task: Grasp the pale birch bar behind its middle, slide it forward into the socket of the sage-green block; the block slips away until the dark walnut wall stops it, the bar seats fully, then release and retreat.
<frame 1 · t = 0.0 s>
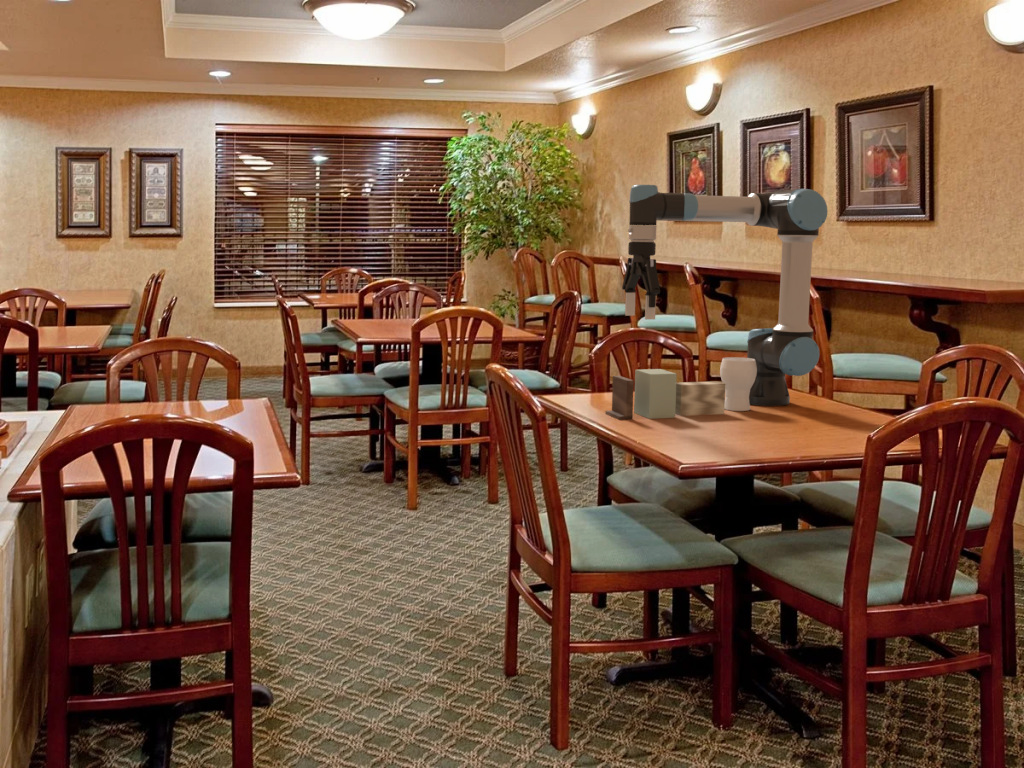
hand: (639, 317, 299), 28 cm above the table, fingers open, 13 cm apart
peg: (698, 414, 308), on the table
wall: (621, 416, 301), on the table
cup: (736, 409, 317), on the table
block: (655, 393, 303), point 6 cm above the table, slide at 0.0 cm
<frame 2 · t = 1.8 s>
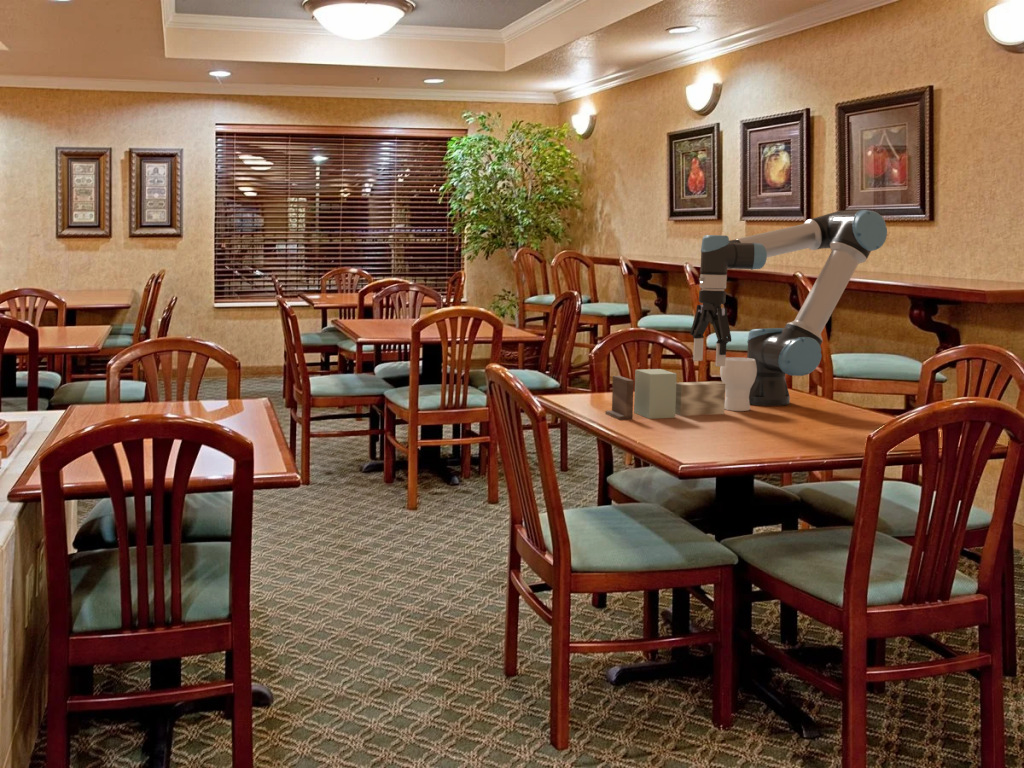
hand: (708, 363, 306), 15 cm above the table, fingers open, 13 cm apart
nothing on the table moved.
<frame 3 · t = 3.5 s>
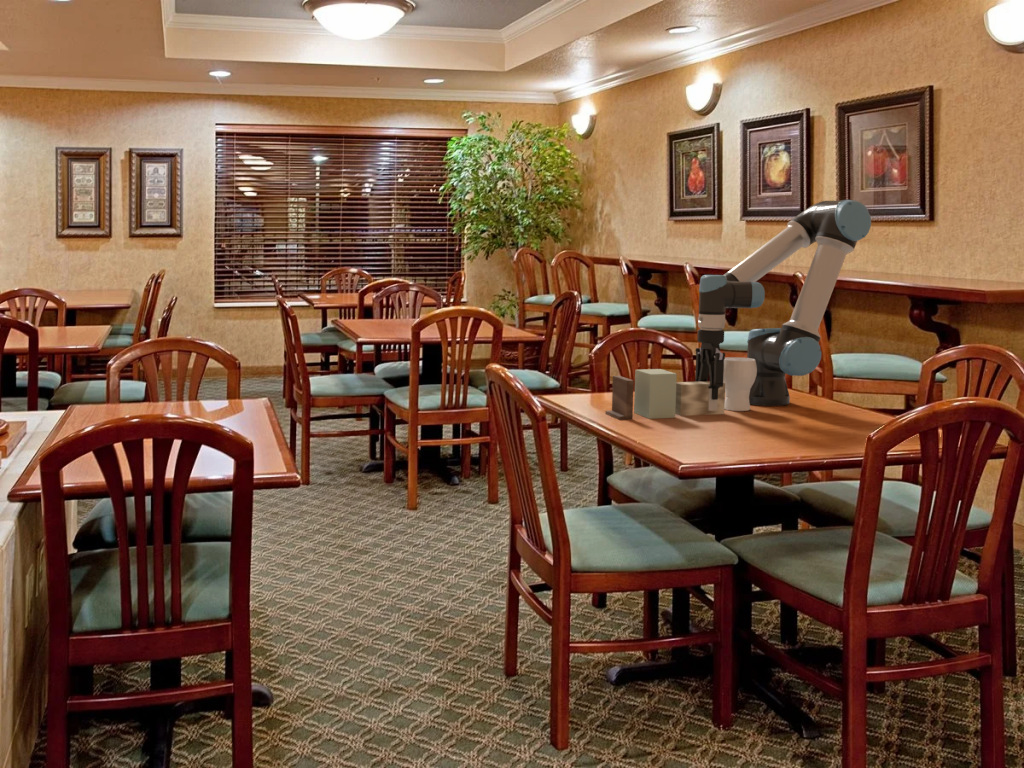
hand: (707, 408, 308), 1 cm above the table, fingers closed on peg, 5 cm apart
peg: (698, 413, 308), on the table, touching gripper
everything else where it was.
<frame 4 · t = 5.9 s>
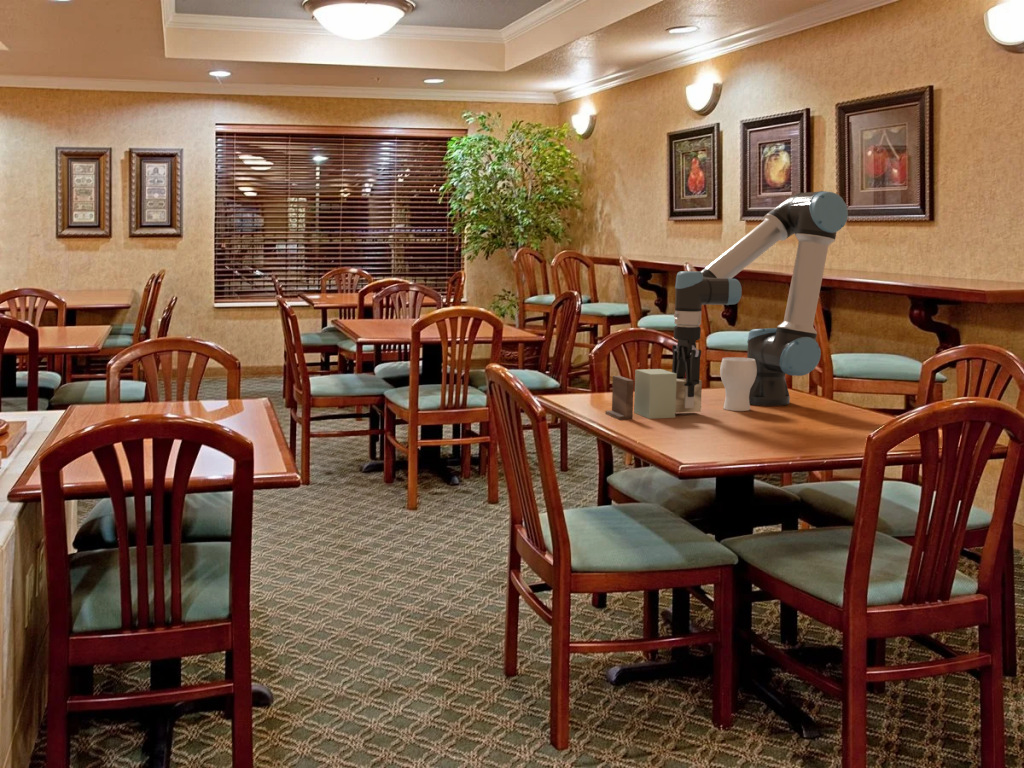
hand: (684, 406, 306), 2 cm above the table, fingers closed on peg, 5 cm apart
peg: (674, 411, 305), point 1 cm above the table, touching gripper
everything else where it was.
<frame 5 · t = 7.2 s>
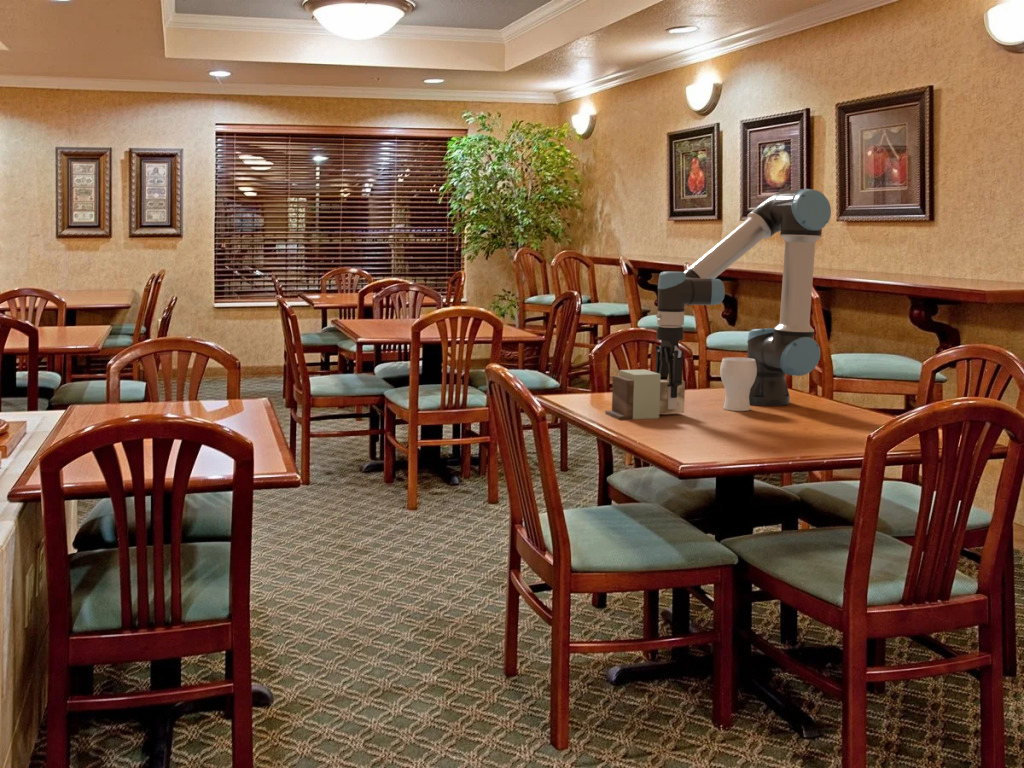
hand: (667, 407, 304), 2 cm above the table, fingers closed on peg, 5 cm apart
peg: (657, 412, 304), point 1 cm above the table, touching gripper
block: (639, 393, 301), point 6 cm above the table, slide at 5.0 cm
everything else where it was.
when the fingers open (2 cm above the table, at t = 8.1 s): peg drops 1 cm, on the table.
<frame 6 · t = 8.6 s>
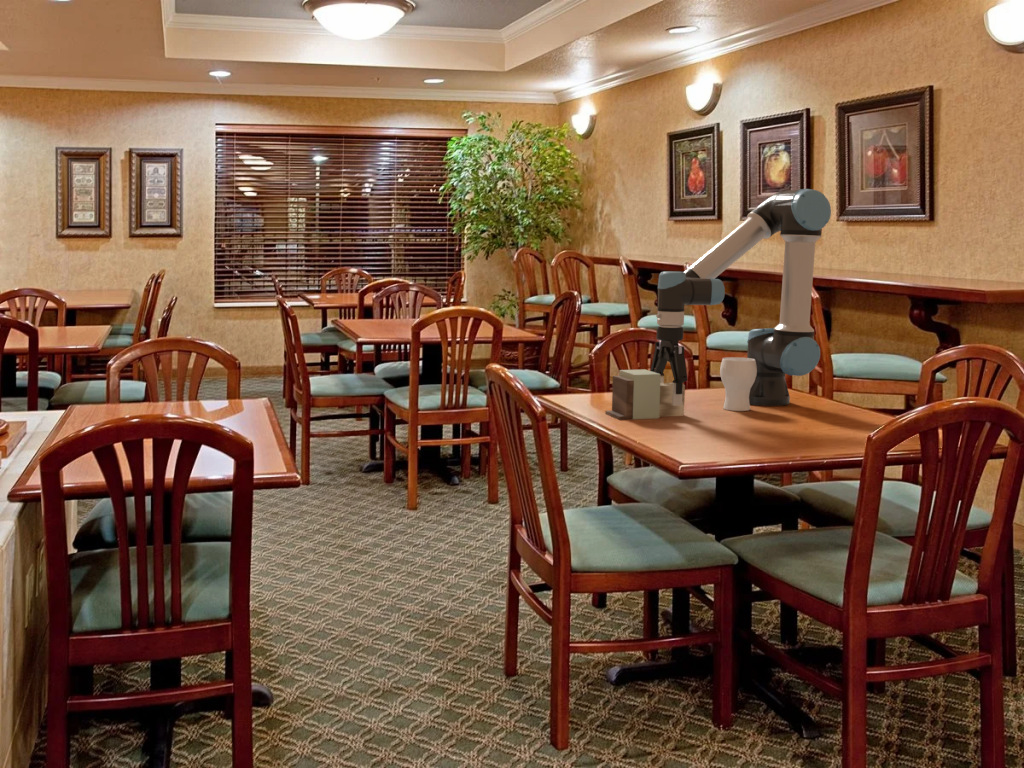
hand: (667, 402, 304), 4 cm above the table, fingers open, 11 cm apart
peg: (657, 415, 304), on the table
everything else where it was.
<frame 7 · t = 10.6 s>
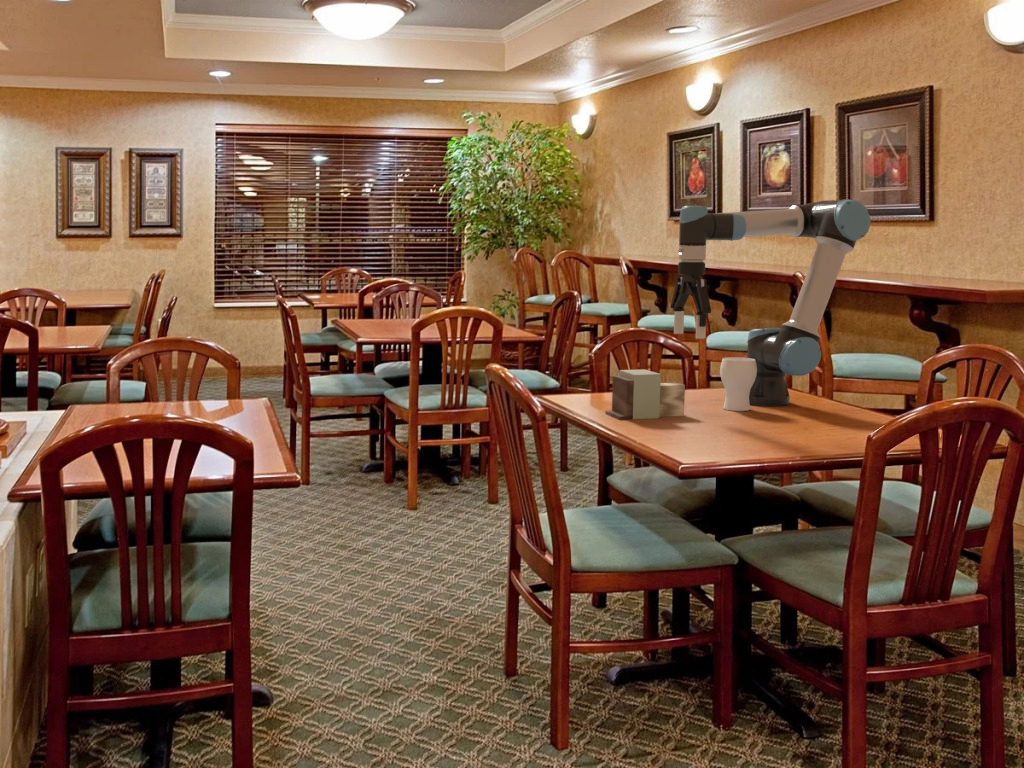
hand: (689, 336, 303), 23 cm above the table, fingers open, 13 cm apart
nothing on the table moved.
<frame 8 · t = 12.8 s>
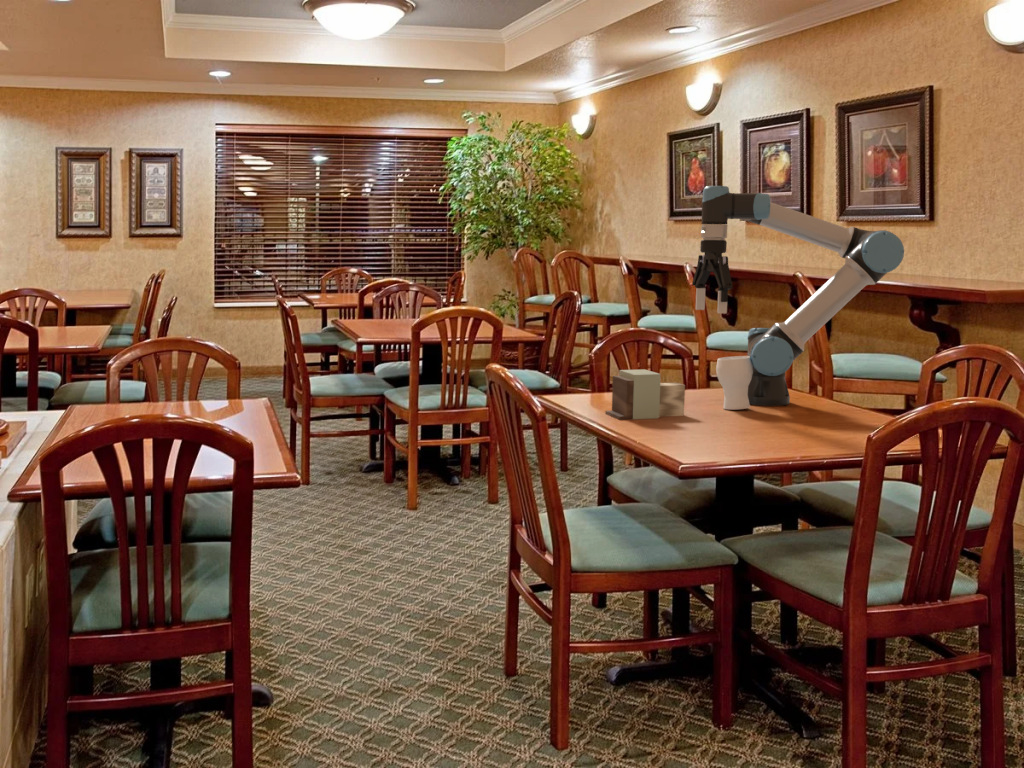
hand: (710, 311, 315), 29 cm above the table, fingers open, 13 cm apart
cup: (736, 408, 316), on the table, touching arm
everything else where it was.
at the end: block slide at 5.0 cm; peg 0.1 cm from the target spot, on the table; the gripper is holding nothing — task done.
